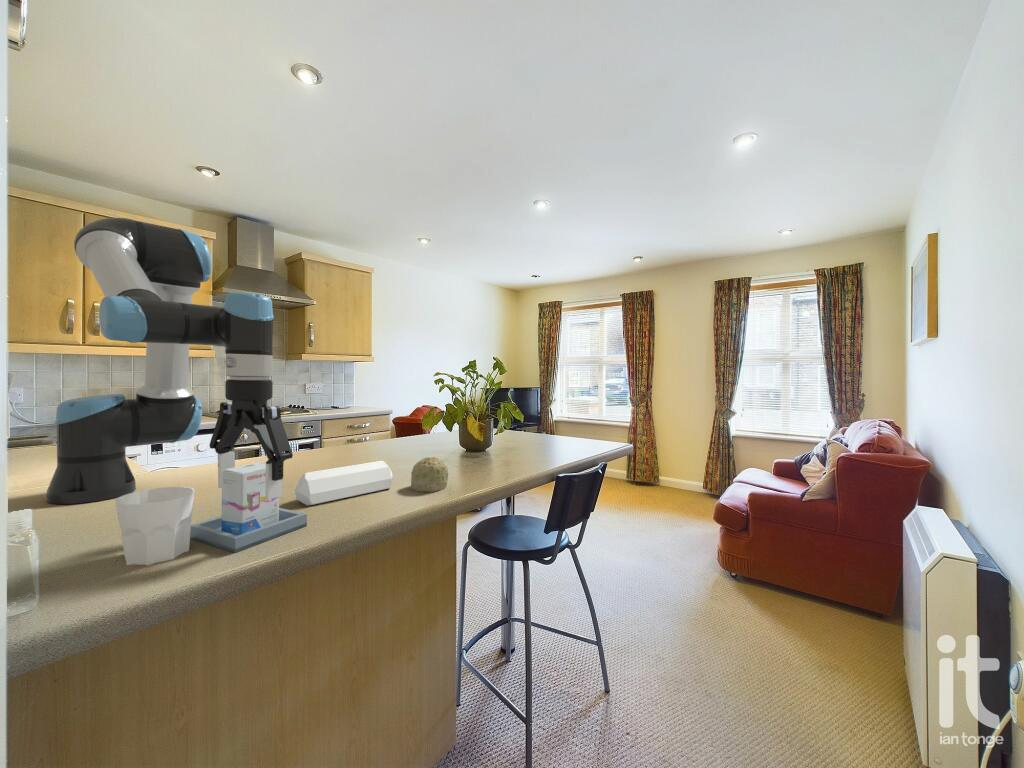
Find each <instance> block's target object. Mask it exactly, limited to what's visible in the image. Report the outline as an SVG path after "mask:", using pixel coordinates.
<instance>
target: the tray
mask: <svg viewBox="0 0 1024 768" xmlns="http://www.w3.org/2000/svg"><path fill="white" fill-rule="evenodd" d="M307 526H308V513H306V512H305V513H304V512H301V511H296V510H291V509H286V508H283V507H279V522H276V523H273V524H270V525H267V526H264V527H261V528H258V529H255V530H252V531H249V532H246V533H244V534H241V535H238V536H237V535H234V534H230V533H227V532H223V531H221V527H222V515H221V516H218V517H215V518H211V519H207V520H203V521H200V522H197V523H193V524H191V529H190V540H192V541H196V542H199V543H202V544H205V545H209V546H212V547H215V548H219V549H222V550H224V551H229V552H231V553H235V554H237V553H239V552H241V551H244V550H247V549H250V548H252V547H254V546H258V545H260V544H262V543H266V542H268V541H271V540H273V539H276V538H279V537H282V536H284V535H287V534H289V533H292V532H294V531H297V530H300V529H302V528H305V527H307Z"/></svg>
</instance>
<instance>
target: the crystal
mask: <svg viewBox="0 0 1024 768" xmlns="http://www.w3.org/2000/svg"><path fill="white" fill-rule="evenodd" d="M392 481H393V472H392V470H391V468H390V466H389V465H388V464H387V463H386V462H385V460H378V461H372V462H365V463H360V464H359V463H358V464H352V465H346V466H341V467H334V468H328V469H321V470H316V471H308V472H304V474H302V475H301V477H300V478H299V480H298V482H297V484H296V486H295V488H294V494H295V497H296V500H298V502H300V503H301V504H304V505H306V506H313V505H317V504H323V503H327V502H332V501H337V500H341V499H345V498H351V497H355V496H359V495H364V494H369V493H373V492H379V491H383V490H387V489H391V487H392Z"/></svg>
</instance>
